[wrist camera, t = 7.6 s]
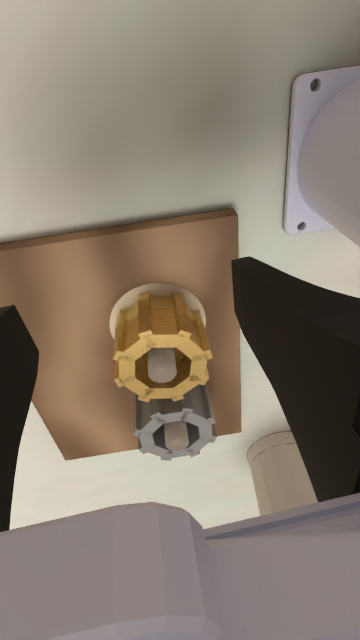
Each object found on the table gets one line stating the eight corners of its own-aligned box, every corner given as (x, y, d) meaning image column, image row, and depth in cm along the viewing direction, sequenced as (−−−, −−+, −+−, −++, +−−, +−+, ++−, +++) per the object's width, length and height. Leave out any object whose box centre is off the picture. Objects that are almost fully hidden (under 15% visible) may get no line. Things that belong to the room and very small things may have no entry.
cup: (322, 455, 37) (389, 591, 27) (254, 480, 38) (294, 617, 29) (303, 416, 32) (374, 562, 23) (227, 446, 34) (263, 594, 24)
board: (232, 208, 20) (262, 249, 15) (238, 421, 32) (255, 481, 27) (-40, 249, 20) (-96, 304, 15) (67, 448, 31) (55, 513, 27)
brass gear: (205, 291, 21) (217, 330, 18) (196, 358, 25) (205, 400, 21) (115, 290, 21) (111, 330, 18) (118, 359, 24) (115, 403, 21)
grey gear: (204, 360, 25) (214, 403, 22) (209, 409, 28) (218, 452, 25) (128, 372, 25) (127, 417, 22) (142, 420, 28) (143, 465, 25)
